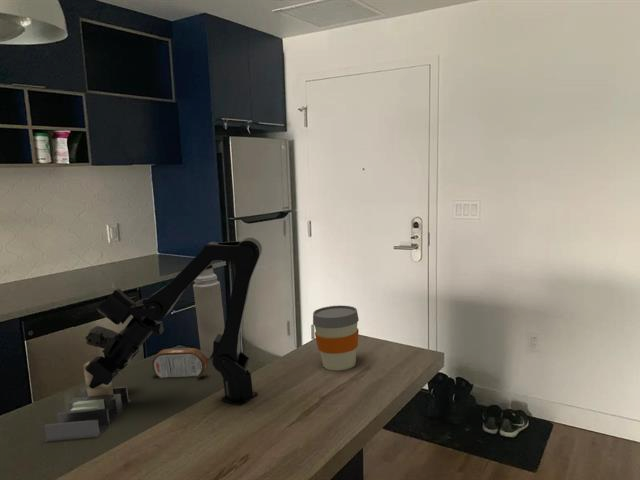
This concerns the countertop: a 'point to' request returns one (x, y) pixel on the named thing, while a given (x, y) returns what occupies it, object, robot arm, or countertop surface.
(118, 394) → the rack
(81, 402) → the offcuts
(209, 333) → the thermos bottle
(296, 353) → the countertop surface
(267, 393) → the countertop surface
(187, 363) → the tin
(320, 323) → the reusable coffee cup
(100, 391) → the light wooden block
